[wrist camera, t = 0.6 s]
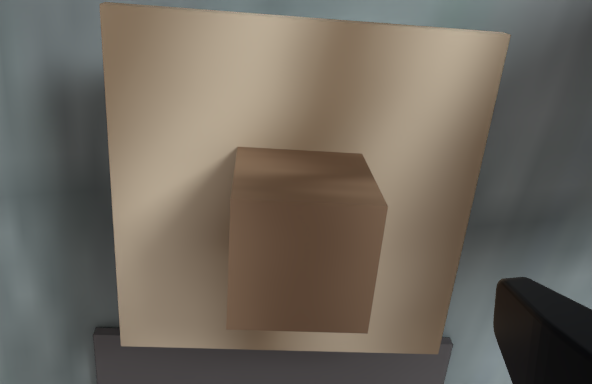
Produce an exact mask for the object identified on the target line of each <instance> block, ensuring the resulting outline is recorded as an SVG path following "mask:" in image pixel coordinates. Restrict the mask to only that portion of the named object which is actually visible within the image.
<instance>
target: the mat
mask: <svg viewBox="0 0 592 384" xmlns="http://www.w3.org/2000/svg"><path fill="white" fill-rule="evenodd" d="M93 340H94V351H95V363H96V374H97V384H444V380H445V376H446V372H447V367H448V363H449V359H450V355H451V351H452V347H453V344H452V342H451V340H450V338H449V337H442V339H441V344H440V348H439V353H438V354H404V353H365V352H326V351H287V350H248V349H210V348H171V347H132V346H121V340H120V328H96V329H95V332H94V334H93Z"/></svg>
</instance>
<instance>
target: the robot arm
mask: <svg viewBox="0 0 592 384" xmlns="http://www.w3.org/2000/svg"><path fill="white" fill-rule="evenodd" d="M493 325H494V332H495V336H496V339H497V342H498V345H499V348H500V350H501V353H502V356H503V359H504V361H505V364H506V367H507V369H508V372H509V375H510V378H511V380H512V383H513V384H592V310H591V309H589V308H587V307H585V306H583V305H581V304H579V303H577V302H575V301H573V300H571V299H569V298H567V297H565V296H563V295H561V294H559V293H557V292H555V291H553V290H551V289H549V288H547V287H545V286H543V285H541V284H539V283H537V282H535V281H533V280H531V279H529V278H527V277H516V278H505V279H501V280H500V281H499V282H498V284H497V288H496V298H495V309H494V321H493Z"/></svg>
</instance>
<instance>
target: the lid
mask: <svg viewBox="0 0 592 384" xmlns="http://www.w3.org/2000/svg"><path fill="white" fill-rule="evenodd" d="M100 18H101V34H102V50H103V67H104V83H105V99H106V115H107V131H108V147H109V163H110V179H111V195H112V211H113V227H114V243H115V259H116V276H117V292H118V308H119V324H120V340H121V346H132V347H171V348H210V349H248V350H287V351H326V352H365V353H404V354H438V353H439V348H440V344H441V339H442V335H443V331H444V326H445V322H446V317H447V313H448V309H449V304H450V300H451V295H452V291H453V287H454V282H455V278H456V273H457V269H458V265H459V260H460V256H461V251H462V247H463V243H464V238H465V234H466V229H467V225H468V221H469V216H470V212H471V207H472V203H473V199H474V194H475V190H476V185H477V181H478V177H479V172H480V168H481V163H482V159H483V155H484V150H485V146H486V142H487V137H488V133H489V128H490V124H491V120H492V115H493V111H494V106H495V102H496V98H497V93H498V89H499V84H500V80H501V76H502V71H503V67H504V62H505V58H506V54H507V49H508V45H509V40H510V36H511V35H510V34H507V33H504V32H493V31H480V30H467V29H454V28H440V27H427V26H414V25H401V24H388V23H374V22H361V21H348V20H335V19H322V18H308V17H295V16H282V15H269V14H256V13H242V12H229V11H216V10H203V9H190V8H176V7H163V6H150V5H137V4H123V3H110V2H104V3H101V4H100Z"/></svg>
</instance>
